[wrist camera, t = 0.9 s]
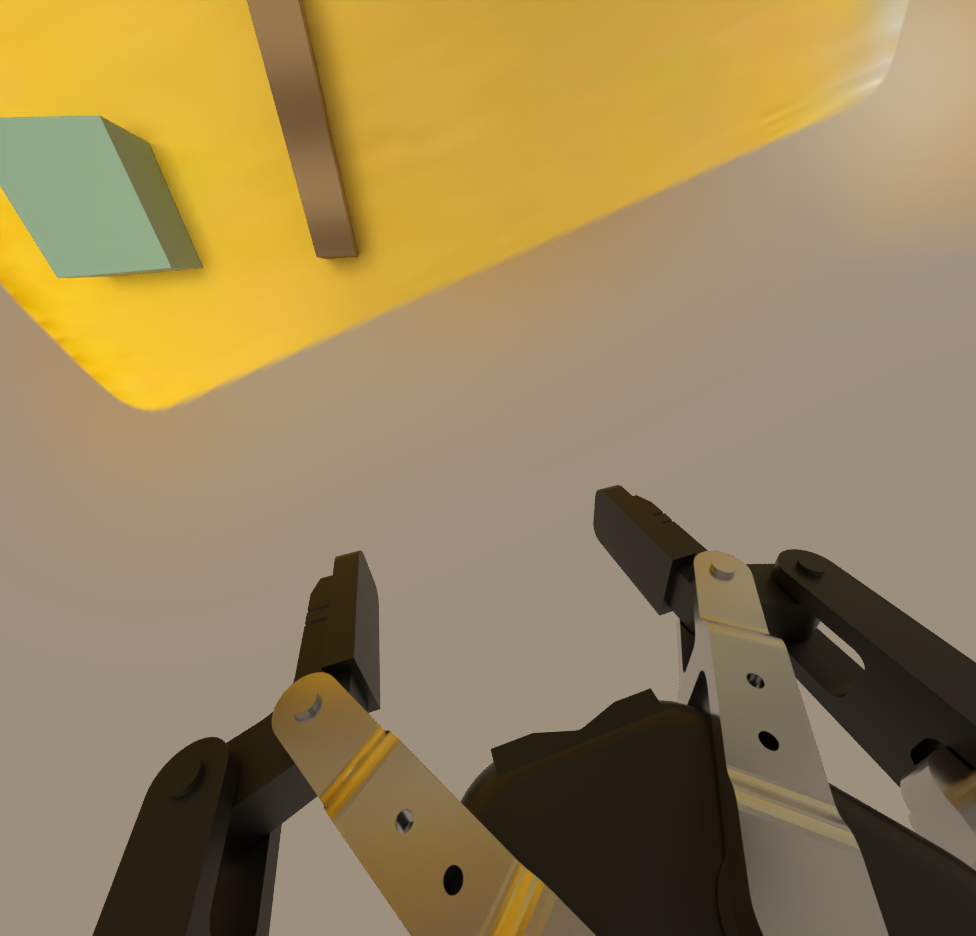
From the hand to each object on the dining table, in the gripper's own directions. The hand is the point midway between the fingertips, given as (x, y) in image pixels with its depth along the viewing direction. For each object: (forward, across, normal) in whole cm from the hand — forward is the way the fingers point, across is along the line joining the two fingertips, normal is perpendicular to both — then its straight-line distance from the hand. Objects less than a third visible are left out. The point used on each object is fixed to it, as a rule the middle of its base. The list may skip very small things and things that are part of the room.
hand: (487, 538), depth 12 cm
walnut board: (+26, +4, -16) cm, 31 cm away
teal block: (+26, +17, -13) cm, 34 cm away
